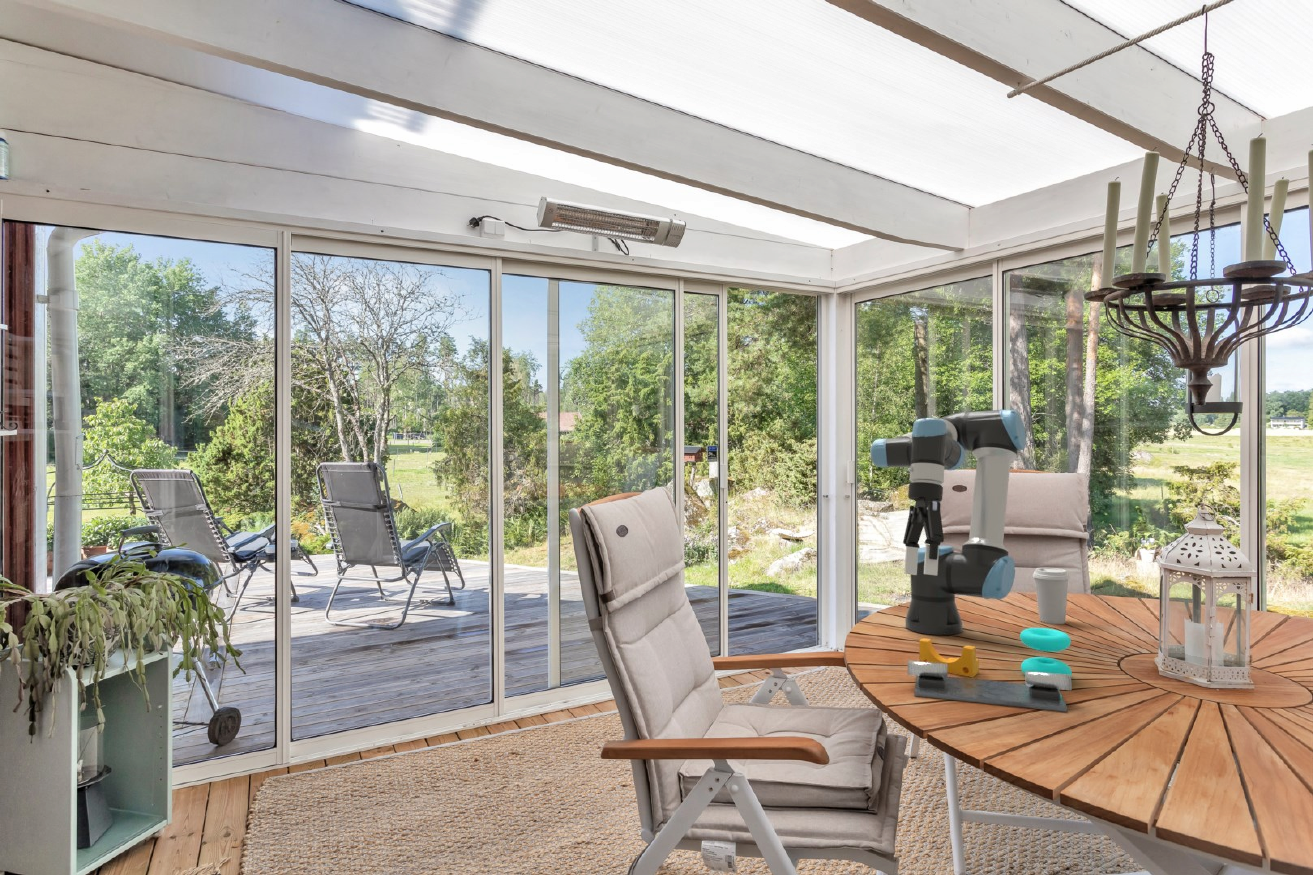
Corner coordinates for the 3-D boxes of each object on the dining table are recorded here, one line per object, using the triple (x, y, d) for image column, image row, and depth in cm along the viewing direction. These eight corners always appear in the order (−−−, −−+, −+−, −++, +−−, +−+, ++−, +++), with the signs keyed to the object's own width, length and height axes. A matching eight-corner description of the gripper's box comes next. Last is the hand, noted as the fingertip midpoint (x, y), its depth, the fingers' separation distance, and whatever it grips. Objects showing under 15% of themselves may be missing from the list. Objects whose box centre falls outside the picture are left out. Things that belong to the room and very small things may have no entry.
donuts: (1066, 628, 161) (1074, 639, 151) (1067, 671, 161) (1075, 686, 151) (1017, 624, 164) (1022, 636, 155) (1018, 667, 164) (1023, 681, 155)
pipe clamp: (978, 673, 162) (978, 644, 162) (972, 677, 158) (971, 649, 159) (926, 663, 170) (926, 636, 170) (919, 667, 166) (919, 640, 167)
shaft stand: (909, 677, 159) (908, 652, 159) (1066, 692, 148) (1065, 666, 148) (907, 694, 148) (906, 668, 148) (1076, 712, 136) (1075, 684, 137)
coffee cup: (1036, 615, 211) (1034, 566, 212) (1073, 619, 206) (1071, 568, 206) (1031, 622, 204) (1029, 571, 204) (1069, 627, 198) (1067, 573, 198)
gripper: (893, 487, 178) (887, 572, 174) (928, 474, 154) (922, 572, 150) (923, 491, 178) (918, 576, 174) (963, 479, 153) (957, 577, 149)
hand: (920, 574), depth 162 cm, fingers open, 13 cm apart
